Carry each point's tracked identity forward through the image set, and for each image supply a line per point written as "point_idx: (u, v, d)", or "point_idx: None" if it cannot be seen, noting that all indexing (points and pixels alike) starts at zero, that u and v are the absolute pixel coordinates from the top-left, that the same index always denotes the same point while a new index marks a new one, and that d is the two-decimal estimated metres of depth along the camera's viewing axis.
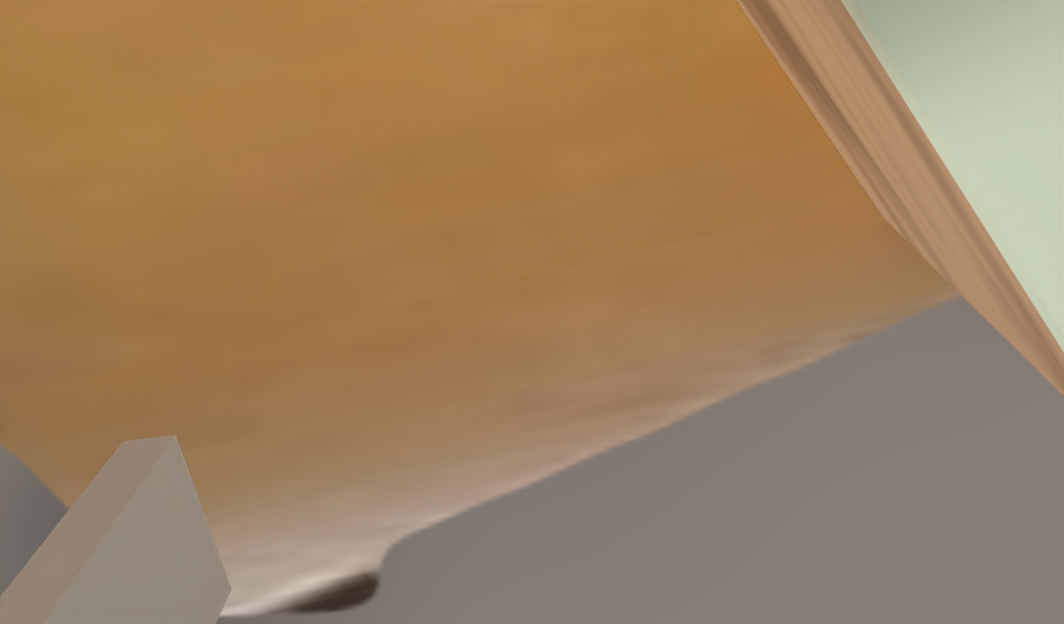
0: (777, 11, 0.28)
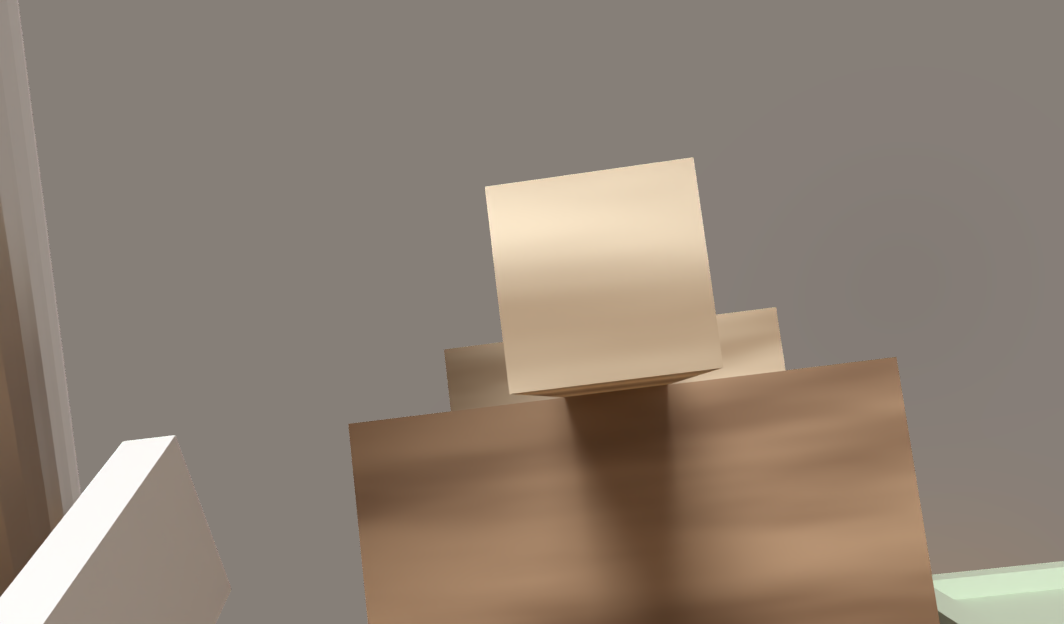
0: None
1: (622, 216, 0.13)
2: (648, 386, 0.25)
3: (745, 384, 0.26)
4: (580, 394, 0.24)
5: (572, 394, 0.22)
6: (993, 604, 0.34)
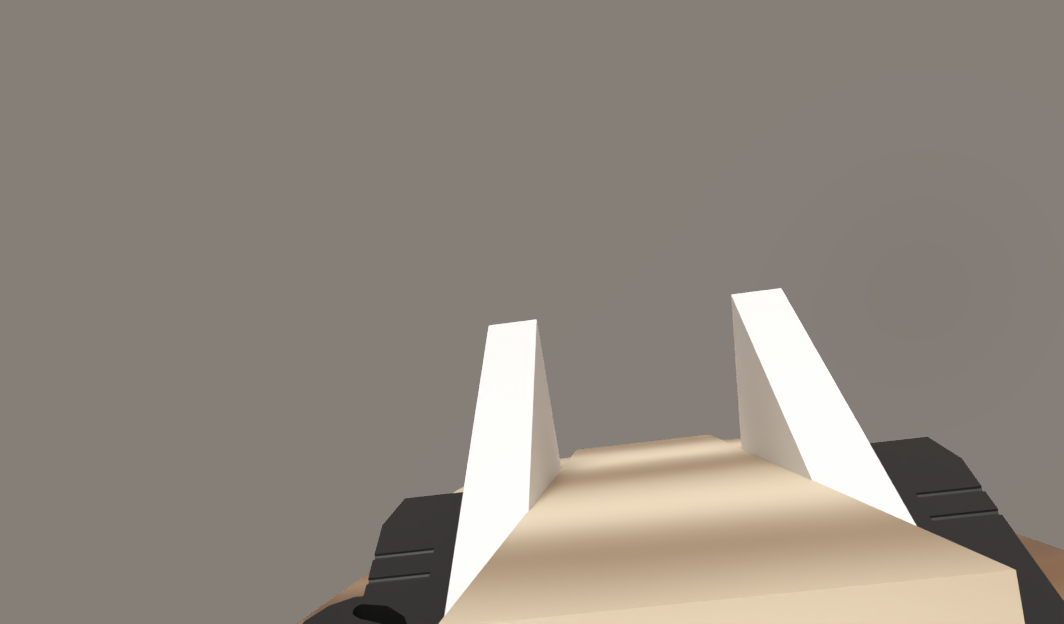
0: None
1: None
2: None
3: None
4: None
5: None
6: None
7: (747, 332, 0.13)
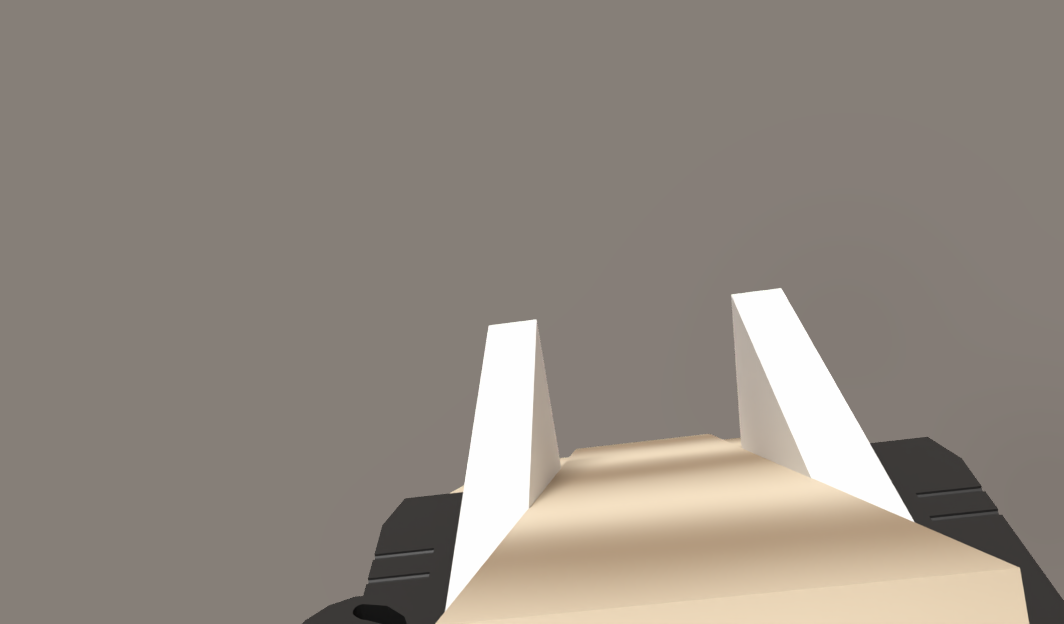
0: None
1: None
2: None
3: None
4: None
5: None
6: None
7: (747, 332, 0.13)
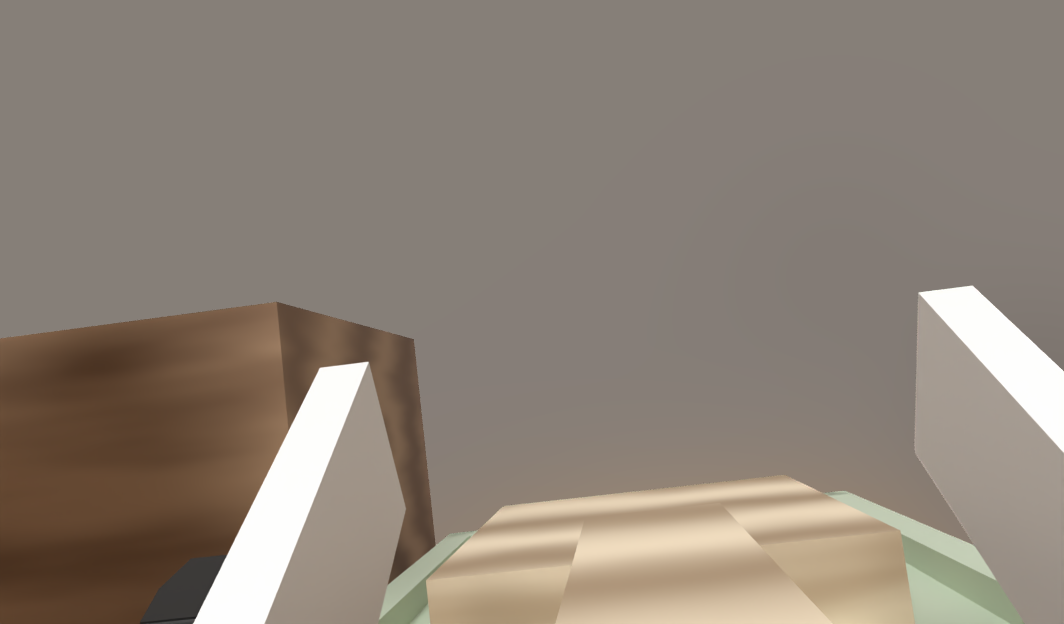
0: None
1: None
2: None
3: (137, 329, 0.27)
4: None
5: None
6: None
7: (954, 332, 0.12)
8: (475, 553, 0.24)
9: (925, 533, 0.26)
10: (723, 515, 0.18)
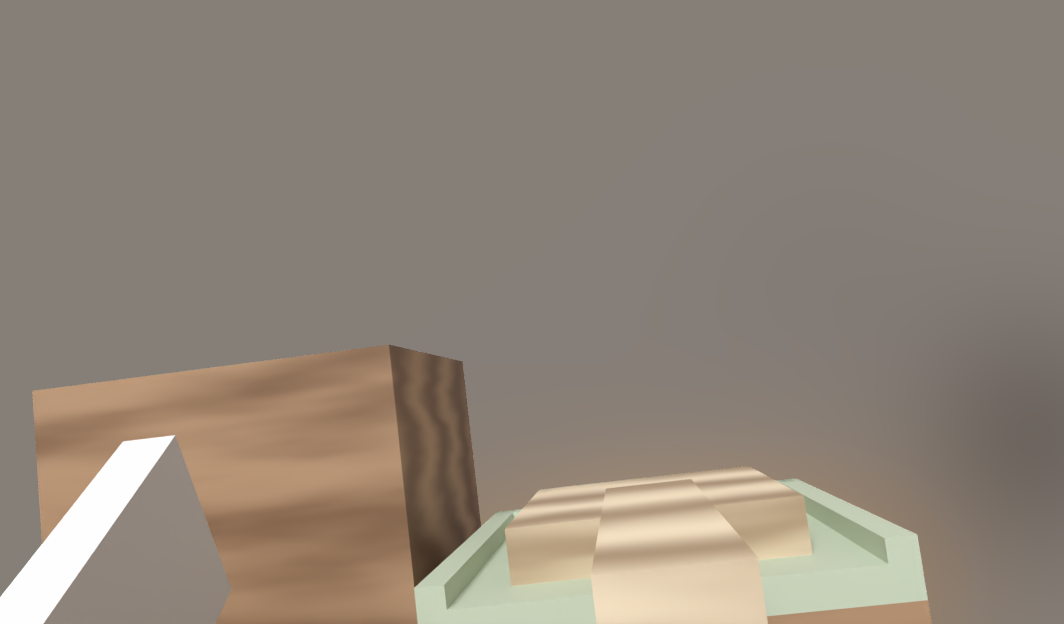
0: None
1: (701, 605, 0.16)
2: None
3: (291, 363, 0.39)
4: None
5: None
6: None
7: None
8: (531, 515, 0.36)
9: (835, 503, 0.37)
10: (691, 484, 0.30)
